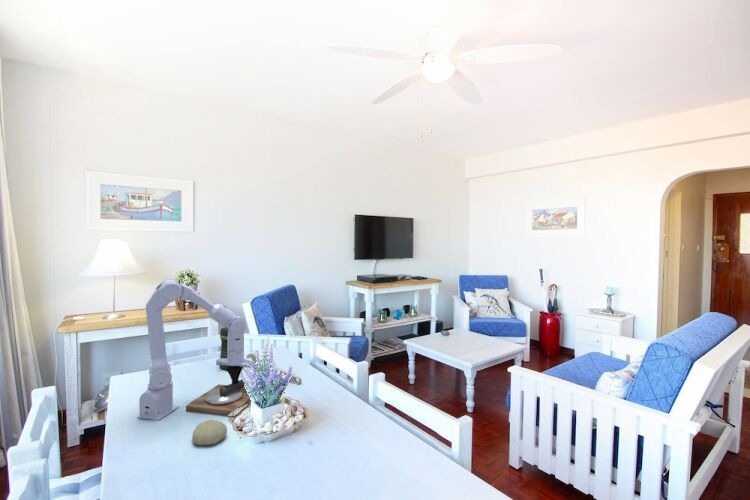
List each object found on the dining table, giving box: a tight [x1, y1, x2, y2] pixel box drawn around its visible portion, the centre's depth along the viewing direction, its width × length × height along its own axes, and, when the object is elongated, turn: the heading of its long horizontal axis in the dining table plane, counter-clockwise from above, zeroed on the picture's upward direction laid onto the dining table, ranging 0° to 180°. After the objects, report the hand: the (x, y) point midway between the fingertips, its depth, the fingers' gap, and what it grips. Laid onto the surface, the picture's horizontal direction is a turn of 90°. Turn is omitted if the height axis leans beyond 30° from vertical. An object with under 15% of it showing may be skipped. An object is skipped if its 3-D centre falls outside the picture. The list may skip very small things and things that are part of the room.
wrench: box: [246, 352, 303, 385], centre depth 153 cm, size 8×2×30 cm
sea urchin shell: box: [192, 419, 228, 446], centre depth 106 cm, size 9×8×8 cm
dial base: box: [185, 383, 251, 417], centre depth 129 cm, size 18×18×2 cm
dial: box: [206, 379, 245, 405], centre depth 129 cm, size 14×12×4 cm
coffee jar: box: [218, 326, 229, 371], centre depth 163 cm, size 10×8×19 cm
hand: (235, 385), depth 134 cm, fingers closed, pressing on dial
